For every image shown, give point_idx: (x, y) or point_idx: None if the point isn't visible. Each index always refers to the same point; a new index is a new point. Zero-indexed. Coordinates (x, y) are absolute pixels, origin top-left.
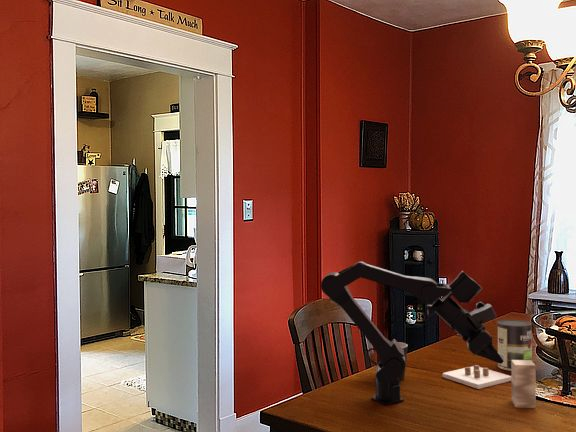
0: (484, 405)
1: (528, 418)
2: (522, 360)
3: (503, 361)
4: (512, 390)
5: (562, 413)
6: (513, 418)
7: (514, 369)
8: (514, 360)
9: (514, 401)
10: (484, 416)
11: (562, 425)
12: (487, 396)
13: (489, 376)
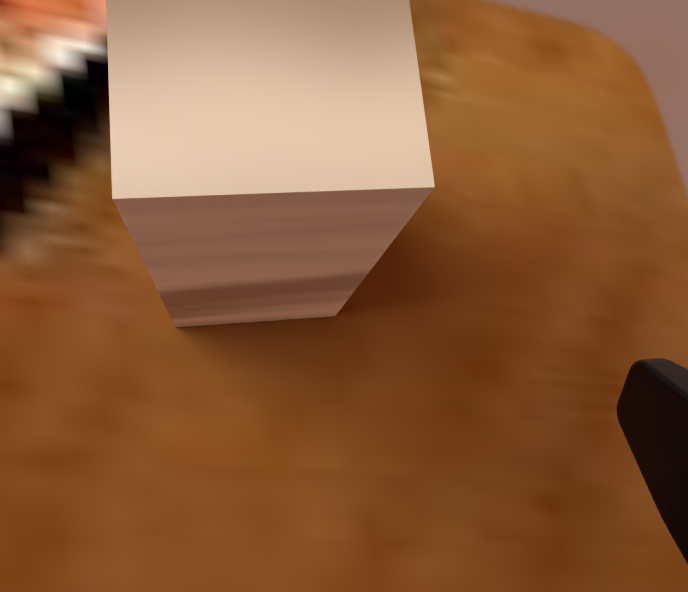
0: (336, 566)
1: (553, 255)
2: (138, 36)
3: (653, 360)
4: (212, 303)
5: None
6: (580, 355)
7: (370, 217)
8: (152, 155)
9: (302, 311)
10: (597, 569)
11: (619, 76)
12: (71, 534)
13: None
